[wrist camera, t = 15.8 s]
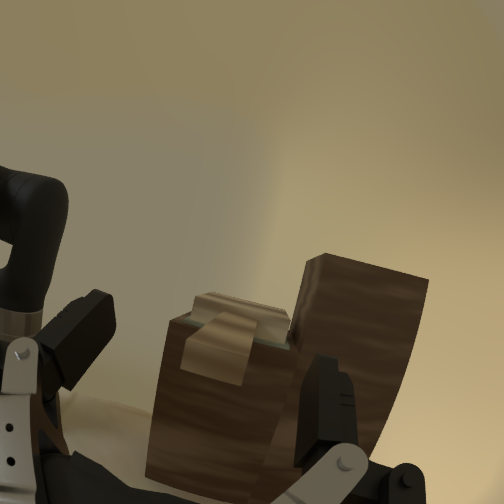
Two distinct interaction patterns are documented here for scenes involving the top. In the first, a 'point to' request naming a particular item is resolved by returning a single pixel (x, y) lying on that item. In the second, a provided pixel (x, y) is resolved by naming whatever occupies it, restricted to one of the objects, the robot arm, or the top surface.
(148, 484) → the top surface
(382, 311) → the two-tone wooden block
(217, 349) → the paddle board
